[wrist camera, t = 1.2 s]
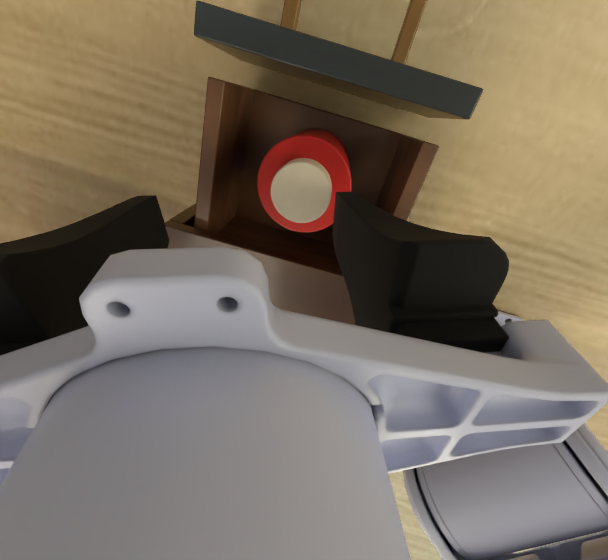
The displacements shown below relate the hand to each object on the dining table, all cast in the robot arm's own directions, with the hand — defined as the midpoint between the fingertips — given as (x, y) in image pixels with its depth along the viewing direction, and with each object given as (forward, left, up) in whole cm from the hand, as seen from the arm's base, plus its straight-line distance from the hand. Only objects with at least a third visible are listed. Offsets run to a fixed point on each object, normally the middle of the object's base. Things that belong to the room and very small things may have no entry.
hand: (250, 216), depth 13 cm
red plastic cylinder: (-2, -1, -9) cm, 10 cm away
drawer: (-2, -4, -11) cm, 11 cm away
